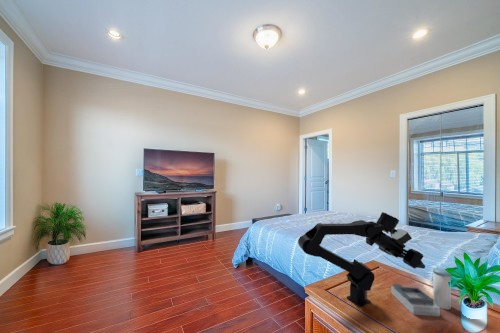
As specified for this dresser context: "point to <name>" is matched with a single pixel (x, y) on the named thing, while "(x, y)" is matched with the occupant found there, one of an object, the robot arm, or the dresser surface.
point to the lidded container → (441, 288)
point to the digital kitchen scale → (415, 300)
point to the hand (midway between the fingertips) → (414, 262)
